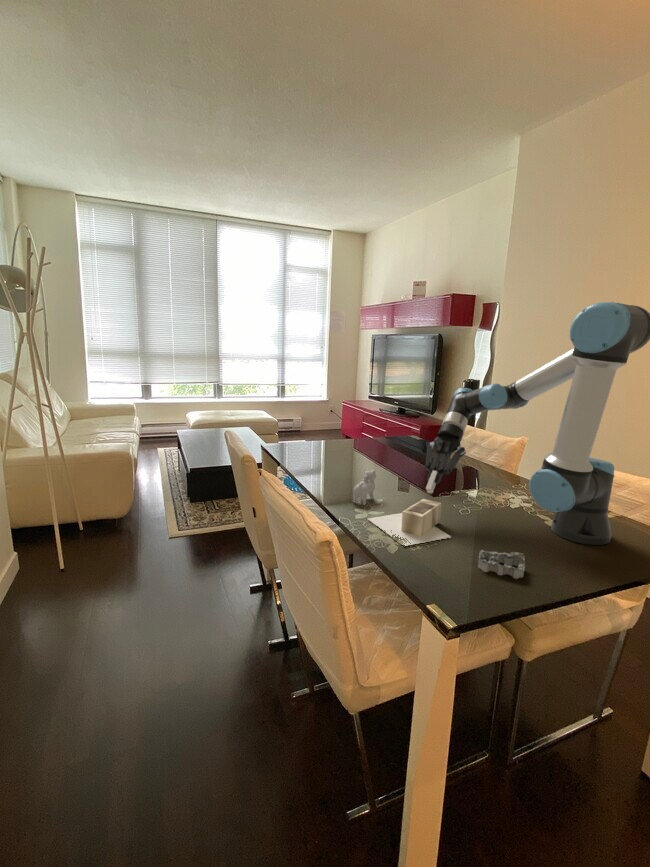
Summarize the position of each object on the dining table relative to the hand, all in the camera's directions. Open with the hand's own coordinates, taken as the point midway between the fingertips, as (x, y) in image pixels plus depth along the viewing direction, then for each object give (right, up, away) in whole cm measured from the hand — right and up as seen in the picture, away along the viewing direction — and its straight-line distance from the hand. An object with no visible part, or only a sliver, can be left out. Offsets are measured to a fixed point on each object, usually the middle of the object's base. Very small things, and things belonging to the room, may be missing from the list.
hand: (429, 490), depth 128 cm
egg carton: (+12, -16, -24) cm, 31 cm away
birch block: (+2, -6, +4) cm, 8 cm away
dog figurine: (-18, -6, +21) cm, 28 cm away
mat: (-7, -11, -2) cm, 13 cm away
